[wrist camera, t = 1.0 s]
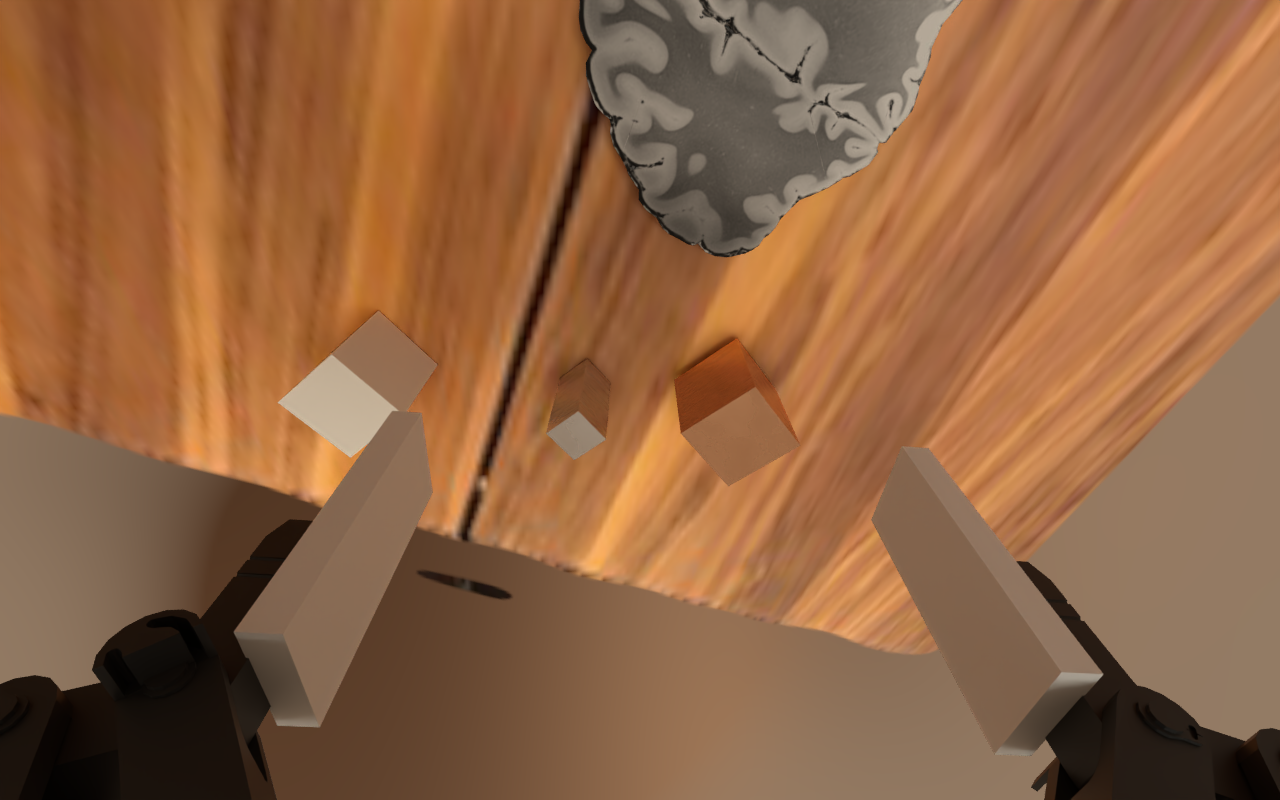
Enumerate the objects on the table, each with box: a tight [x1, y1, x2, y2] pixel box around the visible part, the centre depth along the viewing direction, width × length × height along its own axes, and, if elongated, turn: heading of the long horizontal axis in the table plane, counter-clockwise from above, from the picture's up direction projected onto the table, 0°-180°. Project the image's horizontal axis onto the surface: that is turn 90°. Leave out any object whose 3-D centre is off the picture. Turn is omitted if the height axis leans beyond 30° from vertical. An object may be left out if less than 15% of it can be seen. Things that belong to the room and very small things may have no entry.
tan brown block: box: [674, 338, 800, 486], centre depth 36 cm, size 5×5×8 cm
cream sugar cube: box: [278, 310, 438, 458], centre depth 36 cm, size 5×5×7 cm
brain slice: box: [579, 0, 962, 257], centre depth 28 cm, size 20×17×3 cm
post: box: [546, 358, 611, 460], centre depth 36 cm, size 3×3×7 cm
